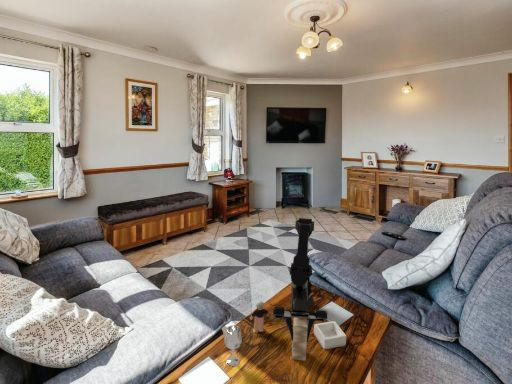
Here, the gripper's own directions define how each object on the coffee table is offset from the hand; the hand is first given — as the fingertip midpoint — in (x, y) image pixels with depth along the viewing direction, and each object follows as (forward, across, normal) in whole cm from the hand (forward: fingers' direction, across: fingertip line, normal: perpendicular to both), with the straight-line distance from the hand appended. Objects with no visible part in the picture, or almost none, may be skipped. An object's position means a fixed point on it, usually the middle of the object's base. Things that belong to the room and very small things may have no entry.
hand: (299, 341), depth 97 cm
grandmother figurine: (-4, -15, +14) cm, 20 cm away
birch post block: (+4, 0, +6) cm, 7 cm away
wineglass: (+8, -22, +2) cm, 24 cm away
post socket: (-3, +12, +12) cm, 17 cm away
